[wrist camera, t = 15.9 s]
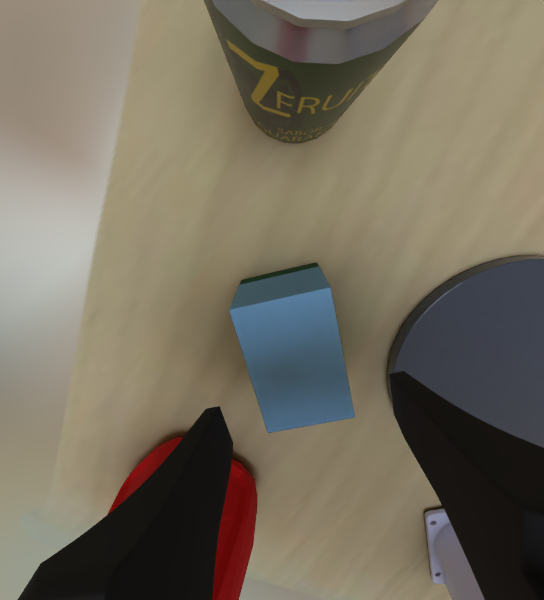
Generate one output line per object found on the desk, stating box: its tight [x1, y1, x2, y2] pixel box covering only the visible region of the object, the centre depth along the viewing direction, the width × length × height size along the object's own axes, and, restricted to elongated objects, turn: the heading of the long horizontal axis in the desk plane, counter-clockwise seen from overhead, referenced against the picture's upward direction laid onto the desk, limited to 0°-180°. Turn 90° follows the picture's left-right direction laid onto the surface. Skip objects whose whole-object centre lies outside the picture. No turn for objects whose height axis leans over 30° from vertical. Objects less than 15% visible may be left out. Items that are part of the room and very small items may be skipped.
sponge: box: [229, 263, 355, 433], centre depth 17 cm, size 8×5×5 cm, turn 14°
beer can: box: [204, 0, 438, 143], centre depth 9 cm, size 5×5×12 cm
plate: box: [387, 255, 544, 448], centre depth 20 cm, size 15×15×1 cm
